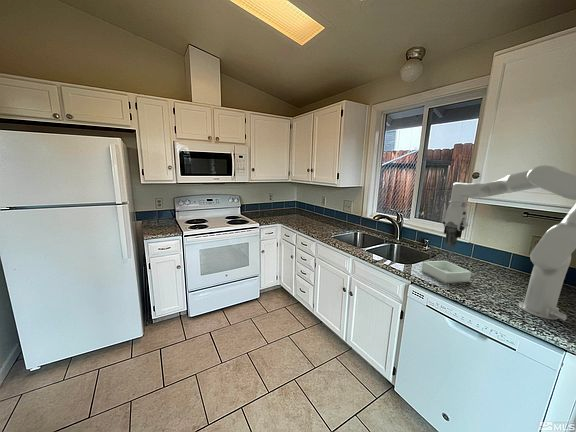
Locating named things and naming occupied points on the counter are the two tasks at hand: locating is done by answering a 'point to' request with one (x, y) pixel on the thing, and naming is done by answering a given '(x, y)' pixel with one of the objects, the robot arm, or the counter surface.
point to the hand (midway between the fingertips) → (451, 235)
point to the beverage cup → (451, 234)
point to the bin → (446, 272)
